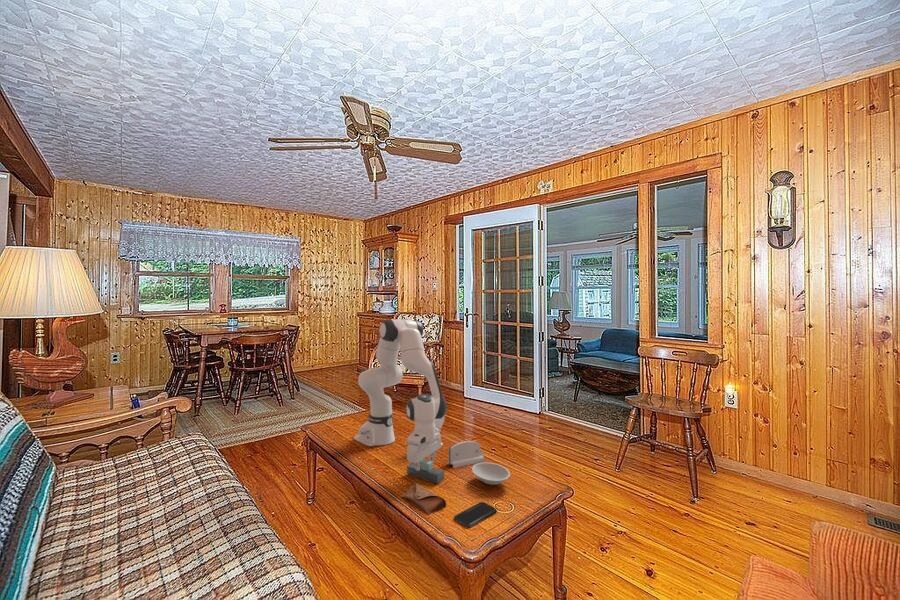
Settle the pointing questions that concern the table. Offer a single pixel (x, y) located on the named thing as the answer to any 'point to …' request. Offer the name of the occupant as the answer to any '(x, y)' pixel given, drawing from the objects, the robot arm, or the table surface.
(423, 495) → the sunglasses case
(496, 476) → the dish
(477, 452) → the napkin holder
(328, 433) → the table surface
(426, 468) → the pale teal plug block
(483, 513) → the phone
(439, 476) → the grey rectangular block
